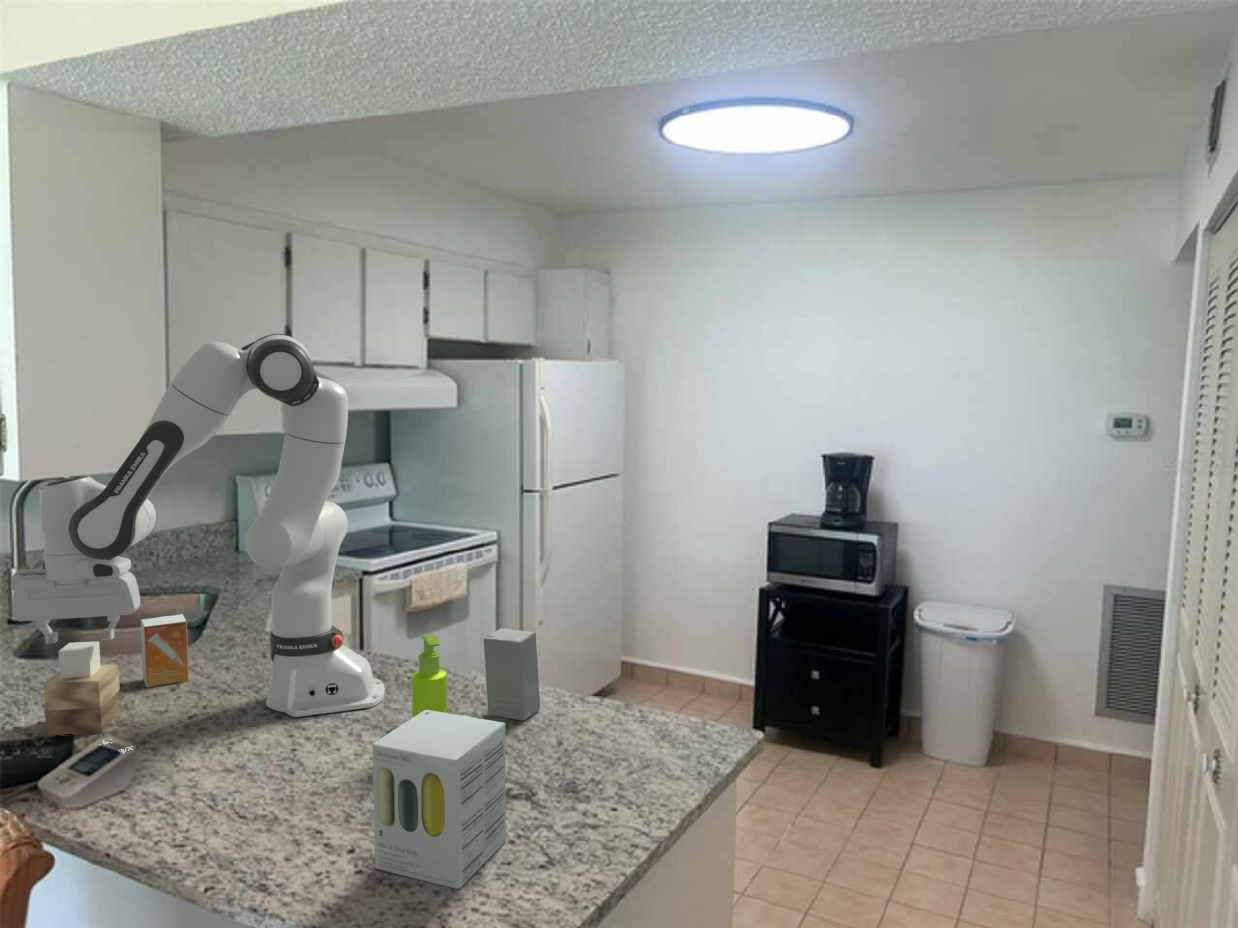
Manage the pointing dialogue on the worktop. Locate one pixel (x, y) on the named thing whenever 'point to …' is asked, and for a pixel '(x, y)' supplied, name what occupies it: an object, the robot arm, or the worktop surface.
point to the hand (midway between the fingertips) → (80, 640)
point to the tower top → (82, 690)
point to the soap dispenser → (429, 680)
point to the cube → (79, 659)
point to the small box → (164, 650)
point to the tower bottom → (82, 719)
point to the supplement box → (439, 797)
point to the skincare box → (512, 674)
